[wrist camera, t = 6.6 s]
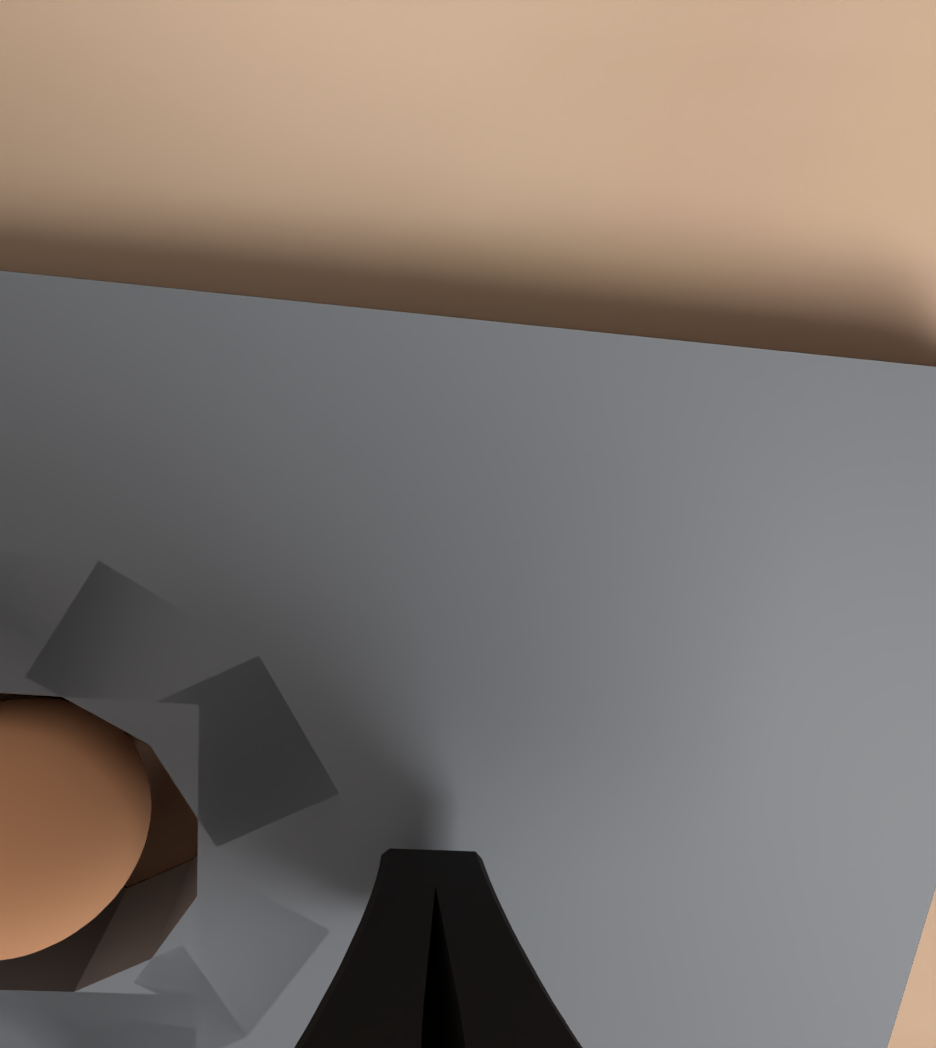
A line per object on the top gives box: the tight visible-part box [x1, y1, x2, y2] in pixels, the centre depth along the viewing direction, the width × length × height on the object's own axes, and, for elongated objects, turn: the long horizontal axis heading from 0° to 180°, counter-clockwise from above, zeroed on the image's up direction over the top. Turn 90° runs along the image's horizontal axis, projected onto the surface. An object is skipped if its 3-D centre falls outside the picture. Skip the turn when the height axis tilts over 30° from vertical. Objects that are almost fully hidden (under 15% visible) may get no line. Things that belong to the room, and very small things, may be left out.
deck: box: [0, 271, 936, 1048], centre depth 12 cm, size 16×19×2 cm
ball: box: [0, 698, 151, 960], centre depth 11 cm, size 4×4×4 cm
